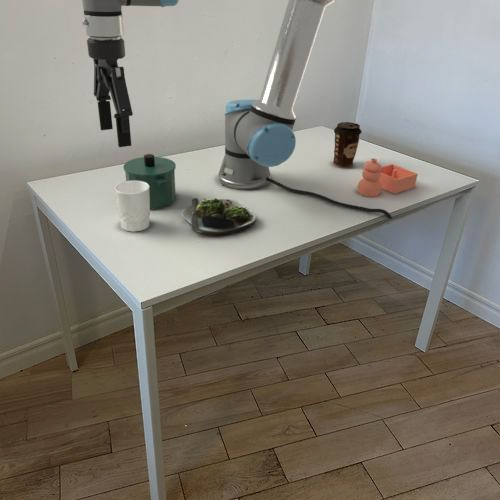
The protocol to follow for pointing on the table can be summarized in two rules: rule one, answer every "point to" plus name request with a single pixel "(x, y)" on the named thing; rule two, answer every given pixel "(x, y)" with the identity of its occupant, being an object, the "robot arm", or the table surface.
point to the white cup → (133, 205)
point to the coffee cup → (346, 143)
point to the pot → (158, 189)
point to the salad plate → (218, 217)
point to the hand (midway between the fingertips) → (115, 137)
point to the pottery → (385, 179)
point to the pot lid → (149, 166)
